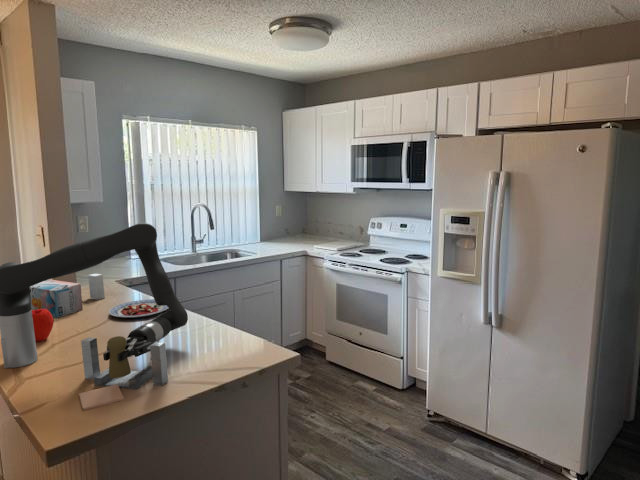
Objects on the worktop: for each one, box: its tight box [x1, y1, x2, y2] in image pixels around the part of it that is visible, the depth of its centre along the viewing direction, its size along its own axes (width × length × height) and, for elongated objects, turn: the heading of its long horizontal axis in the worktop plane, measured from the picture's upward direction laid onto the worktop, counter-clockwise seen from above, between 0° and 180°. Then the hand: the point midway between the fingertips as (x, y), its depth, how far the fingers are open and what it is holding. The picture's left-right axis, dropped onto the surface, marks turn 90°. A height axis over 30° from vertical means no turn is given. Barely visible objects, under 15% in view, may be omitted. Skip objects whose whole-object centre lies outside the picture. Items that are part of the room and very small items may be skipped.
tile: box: [78, 384, 125, 411], centre depth 128 cm, size 10×10×1 cm
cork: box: [106, 335, 132, 378], centre depth 135 cm, size 6×6×11 cm
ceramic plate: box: [108, 298, 169, 319], centre depth 206 cm, size 26×26×3 cm
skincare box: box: [87, 273, 105, 301], centre depth 230 cm, size 6×4×12 cm
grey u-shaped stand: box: [80, 336, 169, 390], centre depth 138 cm, size 10×26×12 cm, turn 78°
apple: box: [32, 309, 54, 342], centre depth 173 cm, size 10×10×12 cm
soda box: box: [30, 279, 84, 319], centre depth 214 cm, size 41×14×13 cm, turn 65°
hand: (111, 357), depth 132 cm, fingers closed on cork, 4 cm apart
